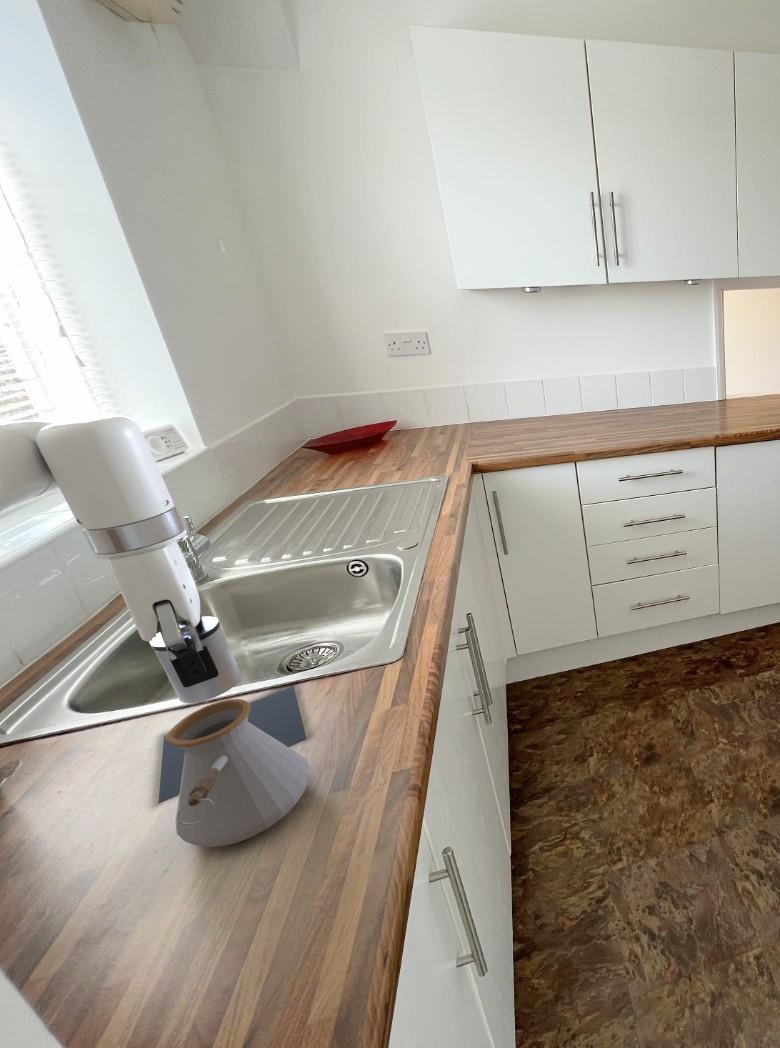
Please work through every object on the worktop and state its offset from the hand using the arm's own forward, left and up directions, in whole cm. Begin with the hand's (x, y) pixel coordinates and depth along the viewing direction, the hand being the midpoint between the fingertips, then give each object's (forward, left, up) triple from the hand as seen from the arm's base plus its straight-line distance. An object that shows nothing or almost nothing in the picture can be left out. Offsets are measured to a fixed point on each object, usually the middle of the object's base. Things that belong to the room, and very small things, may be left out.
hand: (201, 666), depth 70 cm
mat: (0, 0, -11) cm, 11 cm away
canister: (0, 0, -3) cm, 3 cm away
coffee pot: (+1, -21, -11) cm, 24 cm away
